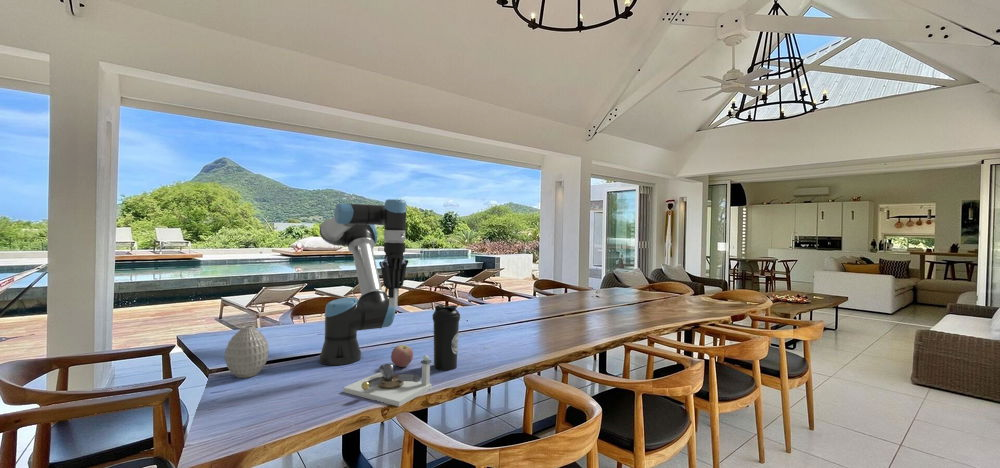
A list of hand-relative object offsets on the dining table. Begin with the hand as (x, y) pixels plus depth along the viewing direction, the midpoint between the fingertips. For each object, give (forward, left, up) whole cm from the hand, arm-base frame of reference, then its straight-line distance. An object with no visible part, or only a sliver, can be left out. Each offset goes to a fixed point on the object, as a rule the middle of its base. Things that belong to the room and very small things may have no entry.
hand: (393, 306), depth 153 cm
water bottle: (+16, +11, -23) cm, 30 cm away
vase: (-38, -30, -23) cm, 54 cm away
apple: (+2, +3, -23) cm, 24 cm away
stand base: (+13, -17, -23) cm, 31 cm away
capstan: (+12, -19, -21) cm, 31 cm away
